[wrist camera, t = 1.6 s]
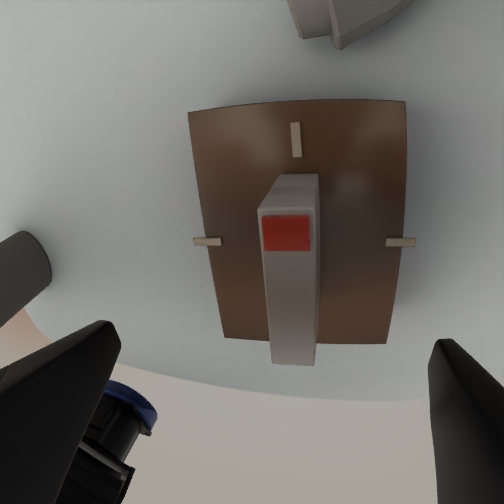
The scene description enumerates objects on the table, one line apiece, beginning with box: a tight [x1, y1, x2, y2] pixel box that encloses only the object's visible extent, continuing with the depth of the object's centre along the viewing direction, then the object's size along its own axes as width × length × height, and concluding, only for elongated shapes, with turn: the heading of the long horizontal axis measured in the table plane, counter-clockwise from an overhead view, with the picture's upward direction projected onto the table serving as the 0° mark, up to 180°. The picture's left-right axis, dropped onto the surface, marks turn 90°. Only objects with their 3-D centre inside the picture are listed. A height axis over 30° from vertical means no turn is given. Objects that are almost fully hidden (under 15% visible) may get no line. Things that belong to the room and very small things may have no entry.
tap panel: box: [188, 99, 416, 344], centre depth 15 cm, size 12×10×3 cm
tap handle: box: [257, 174, 321, 366], centre depth 12 cm, size 6×2×5 cm, turn 6°
